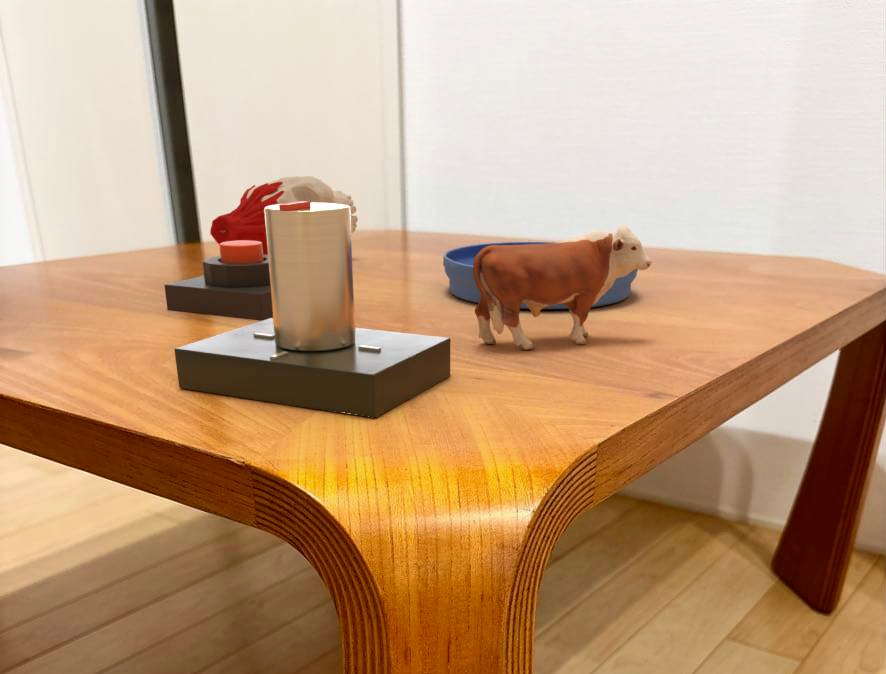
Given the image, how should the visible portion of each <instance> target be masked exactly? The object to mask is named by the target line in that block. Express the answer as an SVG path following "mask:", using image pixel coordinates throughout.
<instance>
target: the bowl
mask: <svg viewBox="0 0 886 674" xmlns="http://www.w3.org/2000/svg"><path fill="white" fill-rule="evenodd" d="M548 243H557V242H554V241H552V242H551V241H511V242H510V241H509V242H504V241H503V242H488V243H478V244H471V245H464V246H459V247H455V248H452V249H449V250H448V251H445V252H444V253H443V261H442V265H443V267H444V273H445V274H446V276H447V278H448V279H449V281H448V282H449V284H448V287H449V291H450V293H451V294H452V295H454V296H455V297H456V298H459V299H462V300H464V301H467V302H471V303H476V304H479V302H480V298H481V292H480V291H479V289H478V287H477V285H476V283H475V280H474V275H473V264H474V259H475V257H476V256H477V254H478V253H479V252H480V251H481V250H482V249H483V248H485V247H487V246H490V245H527V244H548ZM638 271H639V269H635V270H633V271H632V272H630V273H629V274H628V275H626V276H624V277H620V278H616V279H615V281H614V283H613V285H612V287H611V288H610V289H609V290H608V291H607V292H606V293H605V294H604V295H602V296H601V297H600V299H599V300H598V302H597V303H595V304H594V305H592V307H591V308H596V307H603V306H609V305H612V304H616V303H619V302H621V301H623V300H625V299H627V298H628V297H629V296H630V294H631V288H632V283H633V282H634V281H635V279H636V278H637V275H638ZM520 310H530V309H529V308H528V306H527V305H525V304H524V303H521V306H520ZM542 310H569V307H568V306H566V305H564V304H561V303H559V304H555V305H551V306H547V307H544V308H543V309H542Z"/></svg>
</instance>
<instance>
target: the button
mask: <svg viewBox="0 0 886 674" xmlns="http://www.w3.org/2000/svg"><path fill="white" fill-rule="evenodd" d="M218 246H219V256H221V262H223V263H253V262H261V261H264V259H263V246H262V242H259V241H251V240H238V241H227V242H222V243H220V244H218Z"/></svg>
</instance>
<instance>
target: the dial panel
mask: <svg viewBox="0 0 886 674" xmlns="http://www.w3.org/2000/svg"><path fill="white" fill-rule="evenodd" d="M355 339H356V340H355V343H354V344H352V345H350V346H348V347H345V348H341V349H336V350H329V351H293V350H287V349H283V348H280V347H278V346H277V345H276V344H275V338H274V325H273V318H269V319H266V320H263V321H261V320H259V321H257V322H254V323H251V324H247V325H244V326H241V327H238V328H235V329H232V330H228V331H225V332H222V333H219V334H216V335H213V336H210V337H207V338H204V339H200V340H198V341H194V342H191V343H188V344H185V345H181V346H178V347H175V348H174V358H175V365H176V374H177V380H178V388H179V389H182V390H188V391H189V390H190V391H196V392H202V393H209V394H216V395H222V396H229V397H235V398H241V399H246V400H247V399H248V400H254V401H261V402H267V403H274V404H279V405H287V406H294V407H299V408H306V409H312V408H314V409H313V410H319V409H322V410H321V411H325V410H328V411H327V412H332V411H336V412H335V413H338V412H345V413H351V414H357V415H356V416H358V415H363V416H362V417H364V416H369V417H368V418H371V417H376V416H377V417H379V416H381V415H383V414H384V412H385V413H386V412H388V411H390V410H392V409H394V408H396V407H397V406H400V405H401V404H403V403H405V402H406V401H408V400H409V398H410V399H411V398H413V397H415V396H417V395H418V394H420V393H422V392H425V390H427V389H429V388H432V387H434V385H436V384H438V383H440V382H442V381H444V380H445V379H447V378H449V377H450V376H451V337H445V336H435V335H427V334H419V333H418V334H417V333H407V332H399V331H391V330H383V329H381V330H380V329H373V328H363V327H355ZM393 407H394V408H393ZM315 408H316V409H315ZM345 413H344V414H345ZM382 413H383V414H382ZM351 414H350V415H351ZM380 414H381V415H380ZM378 415H379V416H378ZM377 417H376V418H377Z"/></svg>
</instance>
